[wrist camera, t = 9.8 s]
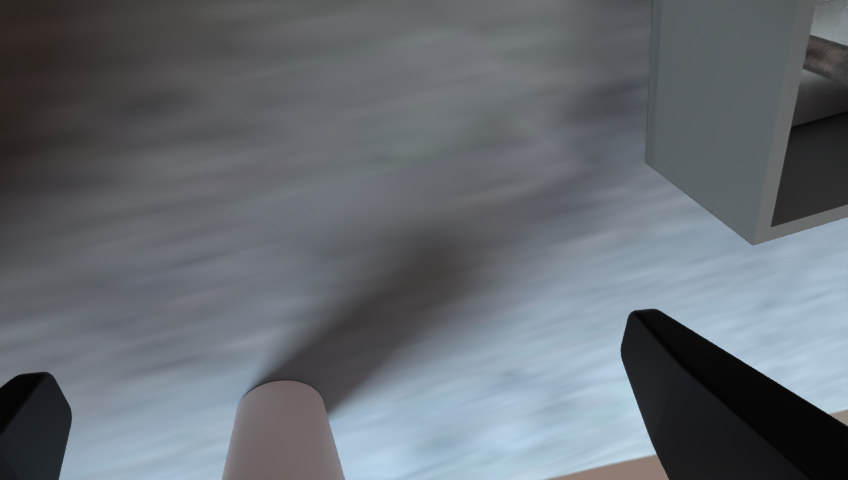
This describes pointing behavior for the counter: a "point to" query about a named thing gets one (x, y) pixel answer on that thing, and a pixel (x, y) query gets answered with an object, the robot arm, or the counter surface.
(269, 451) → the smoothie
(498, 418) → the counter surface
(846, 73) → the plunger
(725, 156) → the grey open box
